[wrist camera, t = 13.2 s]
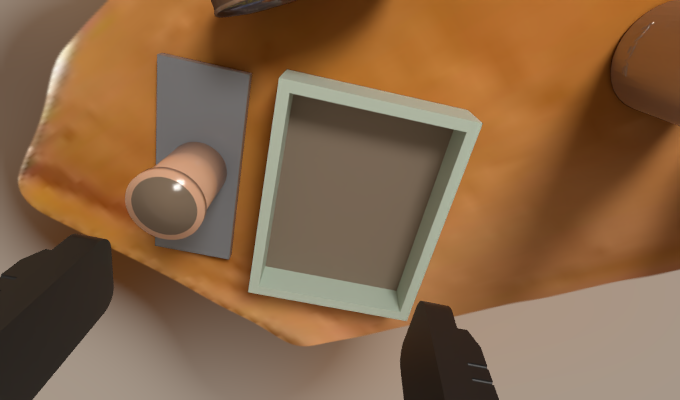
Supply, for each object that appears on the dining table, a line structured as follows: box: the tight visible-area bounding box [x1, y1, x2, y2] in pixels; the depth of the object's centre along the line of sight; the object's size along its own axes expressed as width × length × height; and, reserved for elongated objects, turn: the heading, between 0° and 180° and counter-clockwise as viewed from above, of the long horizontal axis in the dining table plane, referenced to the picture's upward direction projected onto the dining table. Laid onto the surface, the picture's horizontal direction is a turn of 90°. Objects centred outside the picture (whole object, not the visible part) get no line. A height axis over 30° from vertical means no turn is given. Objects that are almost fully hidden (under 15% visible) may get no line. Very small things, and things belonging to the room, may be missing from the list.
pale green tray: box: [248, 69, 483, 321], centre depth 39 cm, size 17×22×4 cm
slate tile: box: [155, 53, 252, 259], centre depth 39 cm, size 8×20×1 cm, turn 168°
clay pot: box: [125, 142, 227, 240], centre depth 35 cm, size 6×6×8 cm
